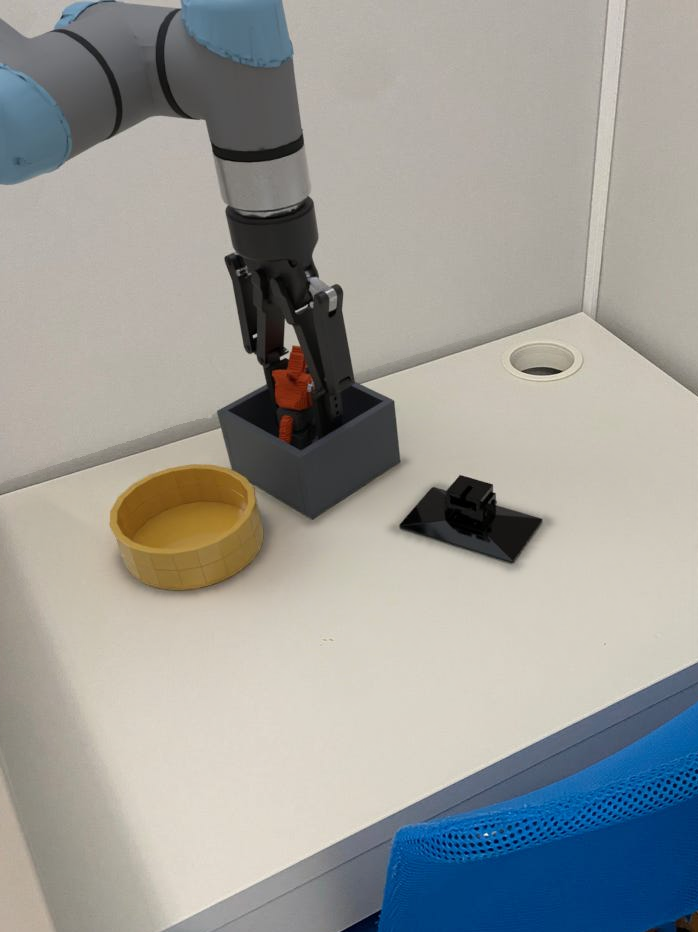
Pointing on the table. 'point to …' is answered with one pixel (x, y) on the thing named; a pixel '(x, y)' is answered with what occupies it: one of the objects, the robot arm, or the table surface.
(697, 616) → the table surface
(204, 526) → the bowl
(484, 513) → the build plate
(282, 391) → the toy animal
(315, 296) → the robot arm
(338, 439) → the bin
